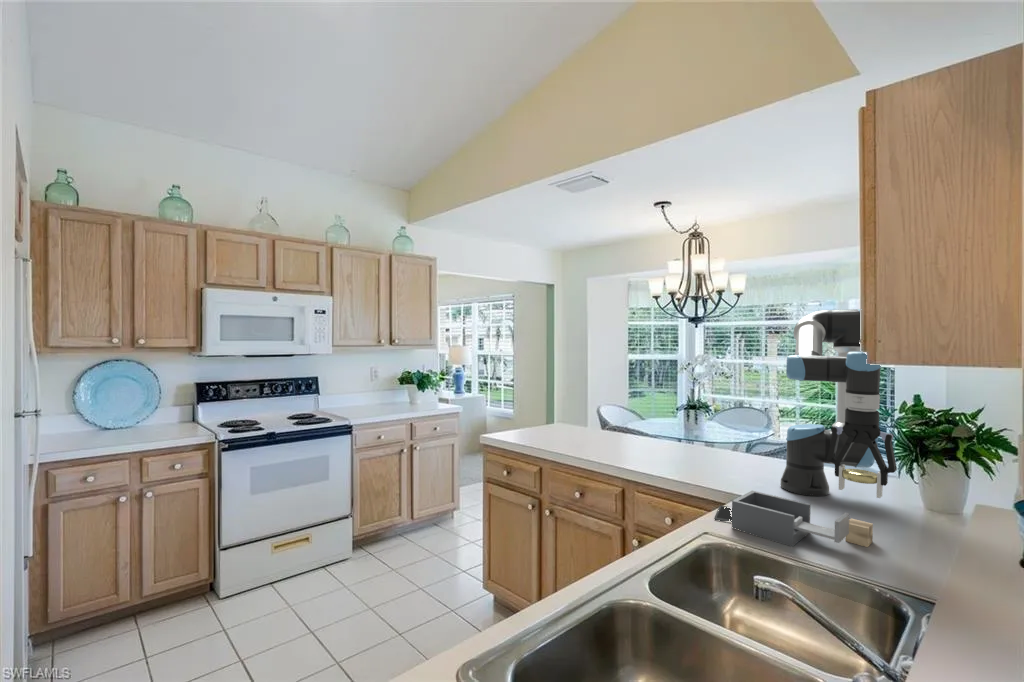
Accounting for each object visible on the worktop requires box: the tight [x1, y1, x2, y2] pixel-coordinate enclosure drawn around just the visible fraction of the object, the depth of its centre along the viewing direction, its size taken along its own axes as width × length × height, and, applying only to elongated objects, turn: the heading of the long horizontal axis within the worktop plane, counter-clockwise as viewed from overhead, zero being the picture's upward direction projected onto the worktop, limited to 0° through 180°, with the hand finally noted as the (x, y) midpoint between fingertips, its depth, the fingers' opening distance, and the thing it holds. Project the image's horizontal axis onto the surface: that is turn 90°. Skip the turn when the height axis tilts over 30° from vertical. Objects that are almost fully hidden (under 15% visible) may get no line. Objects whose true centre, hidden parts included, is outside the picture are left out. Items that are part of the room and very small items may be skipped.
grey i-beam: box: [794, 512, 850, 544], centre depth 133 cm, size 9×14×5 cm, turn 42°
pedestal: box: [845, 517, 874, 548], centre depth 134 cm, size 5×5×5 cm
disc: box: [843, 468, 877, 485], centre depth 134 cm, size 8×8×2 cm
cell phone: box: [713, 505, 732, 522], centre depth 153 cm, size 7×14×1 cm, turn 150°
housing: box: [731, 490, 812, 547], centre depth 142 cm, size 14×16×8 cm
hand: (860, 492), depth 134 cm, fingers closed on disc, 8 cm apart
